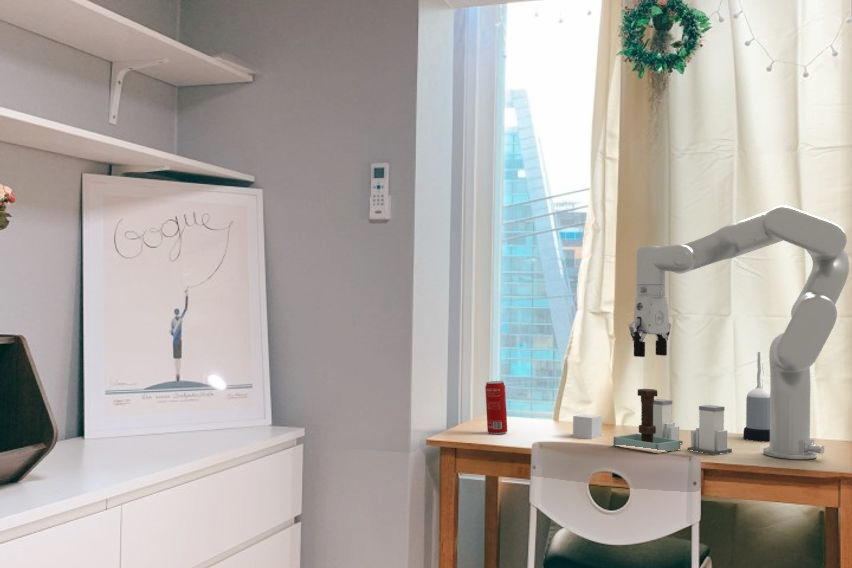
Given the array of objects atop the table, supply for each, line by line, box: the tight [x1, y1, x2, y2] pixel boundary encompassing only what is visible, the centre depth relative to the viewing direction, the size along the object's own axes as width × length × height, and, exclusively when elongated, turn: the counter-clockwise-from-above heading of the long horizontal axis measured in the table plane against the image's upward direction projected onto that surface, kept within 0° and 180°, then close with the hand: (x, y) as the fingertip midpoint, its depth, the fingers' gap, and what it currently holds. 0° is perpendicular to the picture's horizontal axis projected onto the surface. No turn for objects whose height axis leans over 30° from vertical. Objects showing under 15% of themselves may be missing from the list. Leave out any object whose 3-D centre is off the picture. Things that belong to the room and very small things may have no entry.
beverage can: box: [484, 380, 508, 435], centre depth 254 cm, size 6×6×15 cm
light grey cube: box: [572, 413, 603, 440], centre depth 250 cm, size 6×6×6 cm
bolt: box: [637, 388, 658, 443], centre depth 232 cm, size 6×5×15 cm
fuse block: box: [653, 398, 733, 456], centre depth 234 cm, size 23×8×12 cm, turn 39°
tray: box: [613, 433, 681, 452], centre depth 232 cm, size 14×10×2 cm
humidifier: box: [742, 351, 770, 443], centre depth 250 cm, size 8×8×25 cm
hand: (650, 355), depth 233 cm, fingers open, 9 cm apart
